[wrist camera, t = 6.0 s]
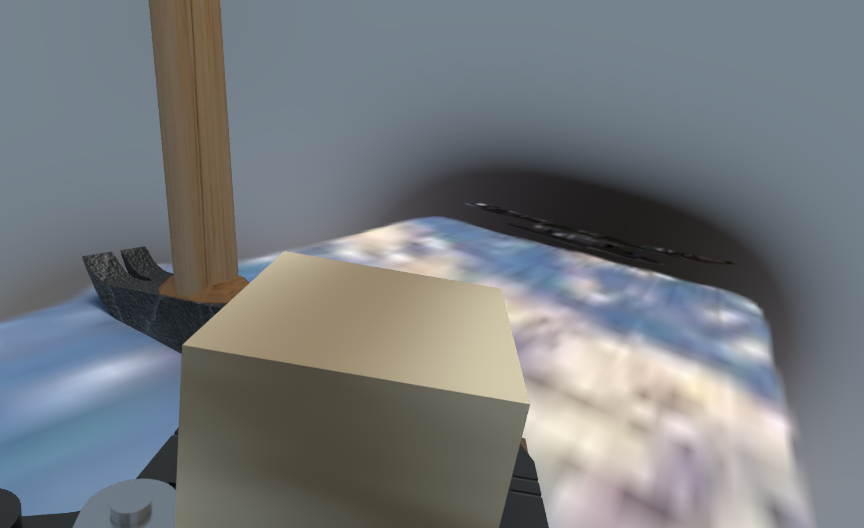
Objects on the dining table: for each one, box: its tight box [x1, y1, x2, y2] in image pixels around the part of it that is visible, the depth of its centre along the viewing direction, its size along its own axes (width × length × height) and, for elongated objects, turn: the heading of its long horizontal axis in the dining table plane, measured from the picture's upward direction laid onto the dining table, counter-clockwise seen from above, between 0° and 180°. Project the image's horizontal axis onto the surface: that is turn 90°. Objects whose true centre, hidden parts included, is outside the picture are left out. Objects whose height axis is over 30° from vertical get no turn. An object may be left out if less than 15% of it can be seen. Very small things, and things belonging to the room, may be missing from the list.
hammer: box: [82, 0, 249, 354], centre depth 36 cm, size 20×5×30 cm, turn 60°
